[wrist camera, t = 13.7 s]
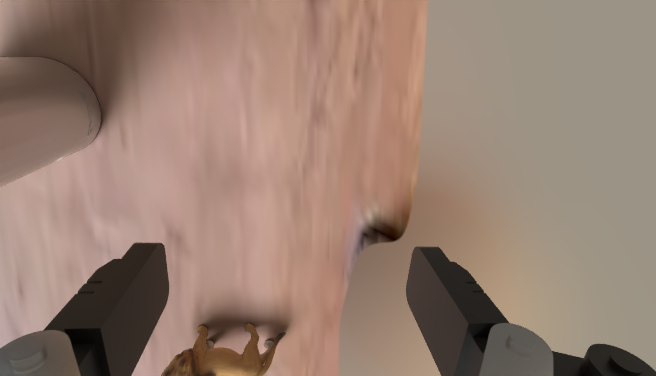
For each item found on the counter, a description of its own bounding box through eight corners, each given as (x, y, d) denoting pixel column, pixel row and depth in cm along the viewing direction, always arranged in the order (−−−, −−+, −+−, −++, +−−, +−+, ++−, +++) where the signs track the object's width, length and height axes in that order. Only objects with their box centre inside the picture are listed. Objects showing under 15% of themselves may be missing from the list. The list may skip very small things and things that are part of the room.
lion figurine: (179, 357, 46) (154, 424, 38) (169, 327, 44) (140, 391, 36) (287, 343, 47) (286, 405, 39) (283, 313, 45) (280, 371, 37)
